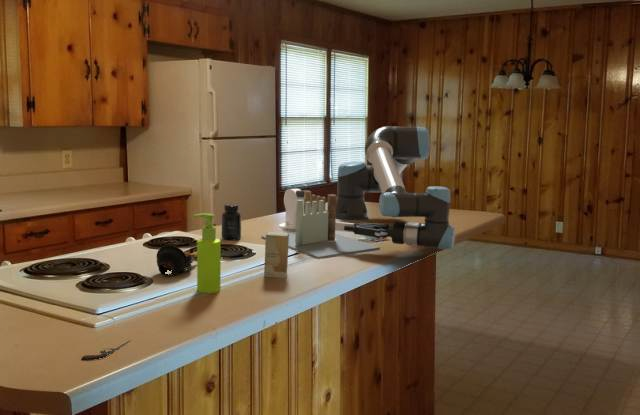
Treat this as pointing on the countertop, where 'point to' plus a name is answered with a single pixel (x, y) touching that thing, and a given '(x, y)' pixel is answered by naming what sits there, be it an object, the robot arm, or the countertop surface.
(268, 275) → the skincare box
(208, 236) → the soap dispenser
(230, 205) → the supplement bottle
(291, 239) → the card
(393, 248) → the countertop surface
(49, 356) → the countertop surface
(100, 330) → the countertop surface
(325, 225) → the fence panel
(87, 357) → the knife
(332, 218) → the fence fixed
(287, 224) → the panda figurine
